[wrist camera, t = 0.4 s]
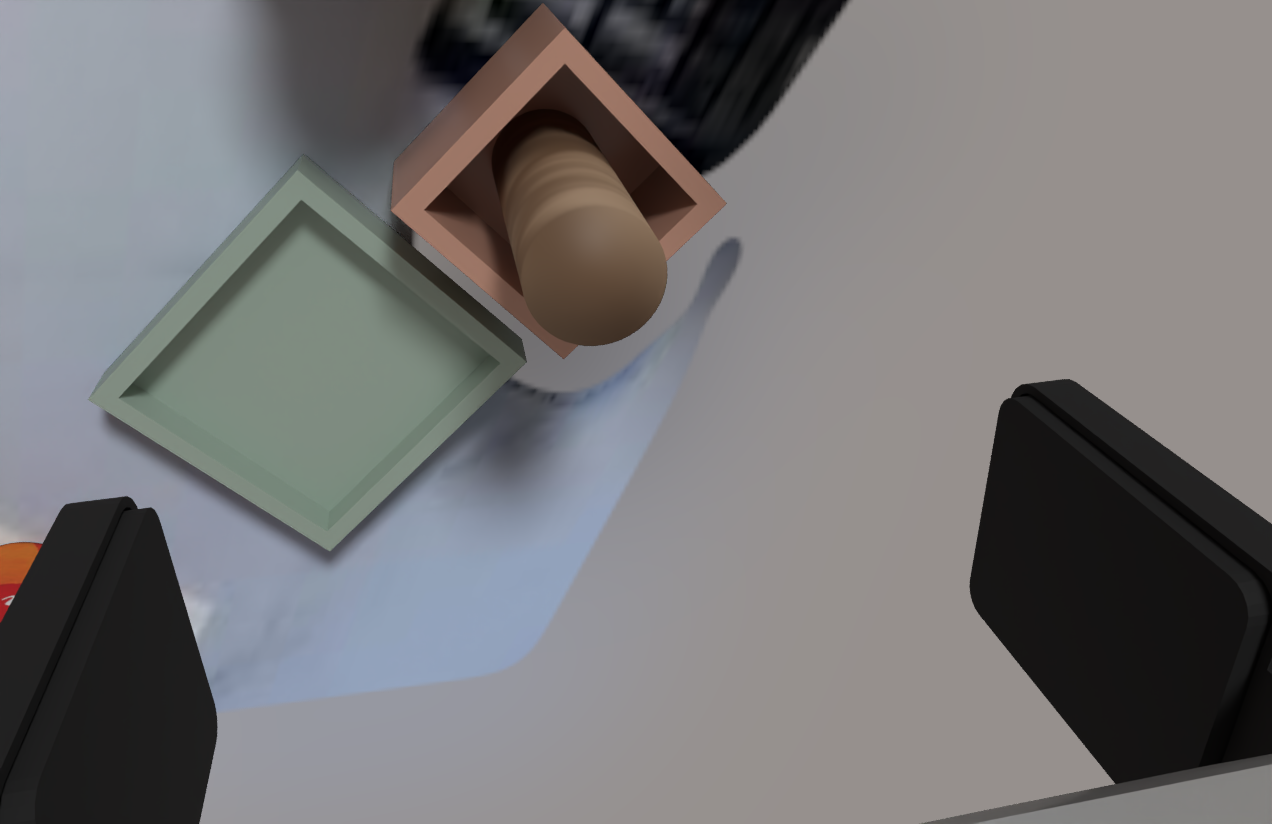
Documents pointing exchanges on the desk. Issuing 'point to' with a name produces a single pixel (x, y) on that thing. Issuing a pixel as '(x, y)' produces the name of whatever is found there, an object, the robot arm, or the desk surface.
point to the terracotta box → (464, 141)
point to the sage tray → (311, 360)
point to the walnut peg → (575, 232)
